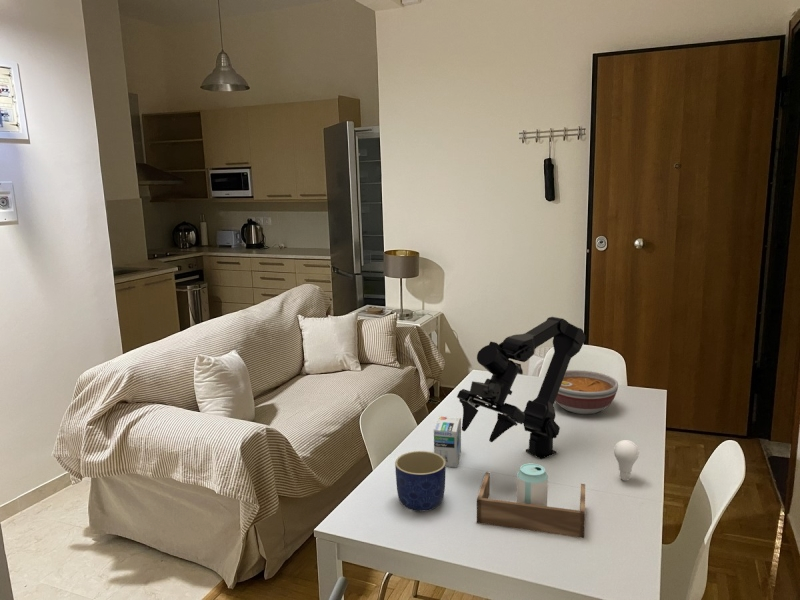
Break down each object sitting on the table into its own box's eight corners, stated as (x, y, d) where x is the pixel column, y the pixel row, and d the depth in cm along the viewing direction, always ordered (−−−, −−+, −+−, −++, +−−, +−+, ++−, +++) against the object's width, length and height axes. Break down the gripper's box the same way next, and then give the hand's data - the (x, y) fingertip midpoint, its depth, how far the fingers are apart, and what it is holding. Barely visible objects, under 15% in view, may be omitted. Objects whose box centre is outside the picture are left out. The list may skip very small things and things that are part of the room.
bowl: (537, 413, 207) (538, 385, 205) (558, 392, 226) (559, 366, 224) (607, 426, 195) (609, 396, 193) (623, 403, 214) (625, 375, 212)
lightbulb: (636, 476, 163) (639, 437, 161) (637, 487, 158) (639, 447, 155) (612, 473, 165) (614, 434, 163) (612, 483, 160) (614, 444, 157)
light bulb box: (457, 468, 170) (457, 431, 168) (433, 466, 171) (433, 430, 169) (461, 451, 180) (461, 416, 178) (438, 449, 182) (438, 415, 179)
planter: (386, 500, 154) (385, 460, 152) (424, 484, 161) (423, 446, 159) (417, 522, 144) (416, 479, 142) (456, 504, 152) (456, 463, 149)
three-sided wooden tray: (485, 494, 156) (485, 472, 155) (584, 506, 149) (585, 484, 148) (476, 522, 143) (476, 499, 142) (583, 538, 136) (584, 513, 135)
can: (522, 504, 151) (523, 459, 148) (550, 512, 147) (551, 465, 145) (512, 518, 145) (512, 471, 142) (541, 526, 141) (542, 478, 139)
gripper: (458, 360, 162) (432, 414, 158) (515, 376, 149) (488, 435, 145) (480, 378, 169) (456, 429, 165) (536, 395, 156) (511, 451, 152)
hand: (476, 436), depth 157 cm, fingers open, 9 cm apart
